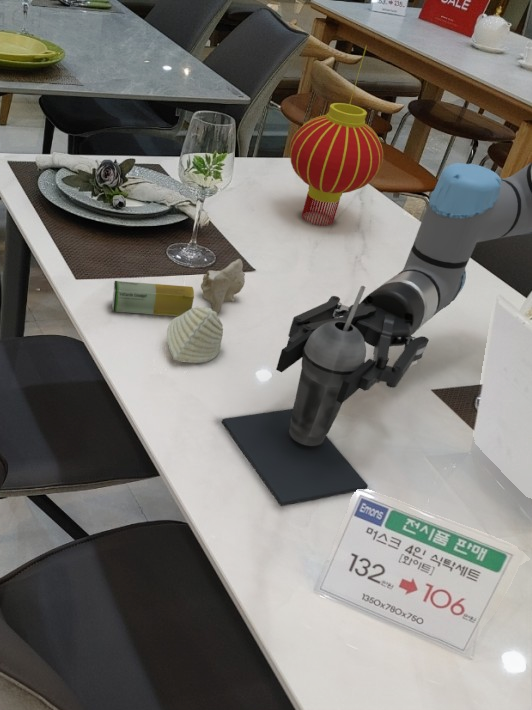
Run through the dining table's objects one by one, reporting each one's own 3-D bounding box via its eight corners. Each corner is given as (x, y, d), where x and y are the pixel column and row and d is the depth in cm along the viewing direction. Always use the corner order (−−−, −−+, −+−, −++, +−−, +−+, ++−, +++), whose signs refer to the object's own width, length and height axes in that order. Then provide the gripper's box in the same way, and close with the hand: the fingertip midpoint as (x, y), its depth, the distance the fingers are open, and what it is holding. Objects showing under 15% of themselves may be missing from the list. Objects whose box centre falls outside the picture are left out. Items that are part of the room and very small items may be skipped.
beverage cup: (266, 428, 96) (309, 282, 82) (303, 410, 100) (350, 267, 86) (310, 460, 93) (363, 313, 79) (346, 440, 96) (403, 296, 83)
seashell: (239, 331, 111) (235, 329, 103) (201, 376, 113) (194, 378, 106) (196, 294, 111) (190, 290, 103) (159, 340, 113) (150, 339, 106)
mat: (366, 489, 92) (368, 485, 92) (280, 505, 88) (282, 502, 88) (301, 410, 103) (302, 407, 102) (221, 422, 98) (222, 418, 98)
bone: (213, 273, 125) (248, 235, 116) (237, 304, 125) (273, 269, 117) (180, 291, 120) (214, 253, 112) (204, 324, 120) (240, 289, 112)
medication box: (111, 313, 115) (113, 290, 112) (111, 302, 117) (113, 279, 114) (191, 318, 116) (195, 295, 113) (189, 307, 118) (193, 284, 115)
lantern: (316, 196, 159) (363, 30, 139) (378, 231, 150) (437, 59, 129) (256, 207, 151) (296, 32, 130) (317, 244, 142) (370, 63, 121)
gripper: (456, 367, 98) (380, 444, 84) (322, 304, 106) (231, 365, 92) (482, 315, 93) (405, 388, 79) (338, 253, 101) (244, 310, 87)
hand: (311, 376), depth 86 cm, fingers closed on beverage cup, 7 cm apart
